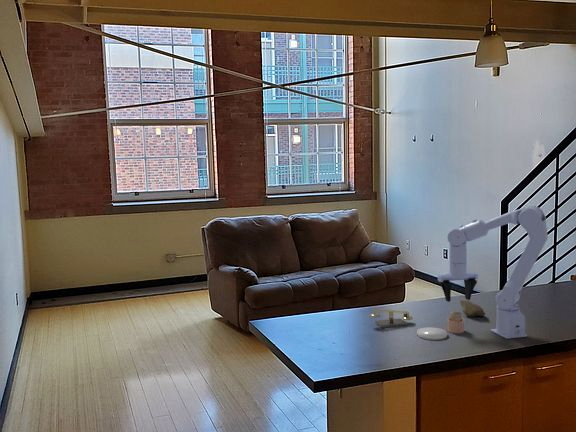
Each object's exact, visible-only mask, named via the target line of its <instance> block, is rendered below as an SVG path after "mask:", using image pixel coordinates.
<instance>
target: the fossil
mask: <svg viewBox="0 0 576 432" xmlns="http://www.w3.org/2000/svg"><path fill="white" fill-rule="evenodd" d="M459 303H460V306H461V308H462V313H463V314H464V315H466V316H467V317H471V318H472V317H482V316H485V315H486V312H485V311H484V309H483V308H482V306H480V305H479V304H477V303H474V302H472V301H470V300H467V299H465V298H464V299H463V298H462V299H460V300H459Z"/></svg>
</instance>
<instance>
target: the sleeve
mask: <svg viewBox="0 0 576 432" xmlns="http://www.w3.org/2000/svg"><path fill="white" fill-rule="evenodd" d="M446 320H447V321H446V324H447V325H446V327H447V328H446V331H447V333H448V332H449V333H452V334H463V333H465V318H462V317H461V321H459V322H456V321H451V317H448V318H447V319H446Z"/></svg>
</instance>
